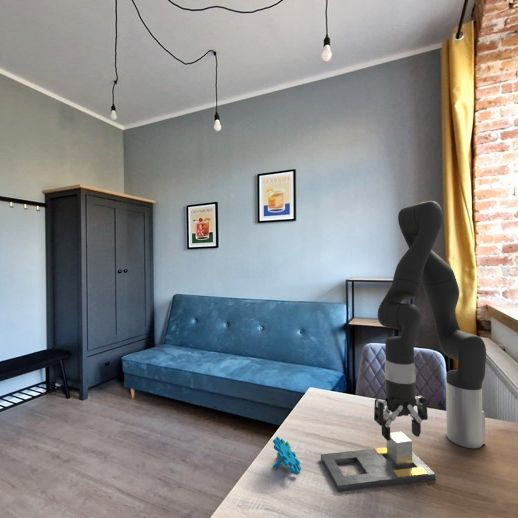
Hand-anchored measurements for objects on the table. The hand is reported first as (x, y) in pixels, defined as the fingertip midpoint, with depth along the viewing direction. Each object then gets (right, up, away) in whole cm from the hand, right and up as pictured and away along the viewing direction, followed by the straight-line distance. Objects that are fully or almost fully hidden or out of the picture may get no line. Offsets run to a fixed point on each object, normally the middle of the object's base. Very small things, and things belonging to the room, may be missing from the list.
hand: (401, 436), depth 82 cm
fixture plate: (-7, -8, -1) cm, 11 cm away
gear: (-31, -9, 0) cm, 32 cm away
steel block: (0, -8, 0) cm, 8 cm away
